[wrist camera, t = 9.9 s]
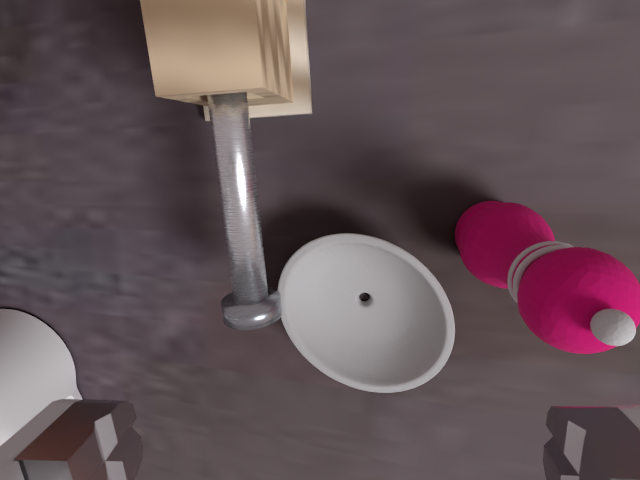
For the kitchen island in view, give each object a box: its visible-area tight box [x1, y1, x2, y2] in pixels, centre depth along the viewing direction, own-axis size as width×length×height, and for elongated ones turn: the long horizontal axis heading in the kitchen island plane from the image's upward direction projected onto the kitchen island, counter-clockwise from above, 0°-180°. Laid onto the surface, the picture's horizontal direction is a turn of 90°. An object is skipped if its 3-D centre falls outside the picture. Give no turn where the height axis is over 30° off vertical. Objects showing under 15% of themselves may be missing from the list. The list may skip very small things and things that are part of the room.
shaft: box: [207, 92, 282, 330], centre depth 29 cm, size 25×5×5 cm, turn 4°
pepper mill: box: [455, 201, 640, 354], centre depth 28 cm, size 7×7×20 cm
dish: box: [278, 233, 455, 393], centre depth 38 cm, size 18×14×5 cm
